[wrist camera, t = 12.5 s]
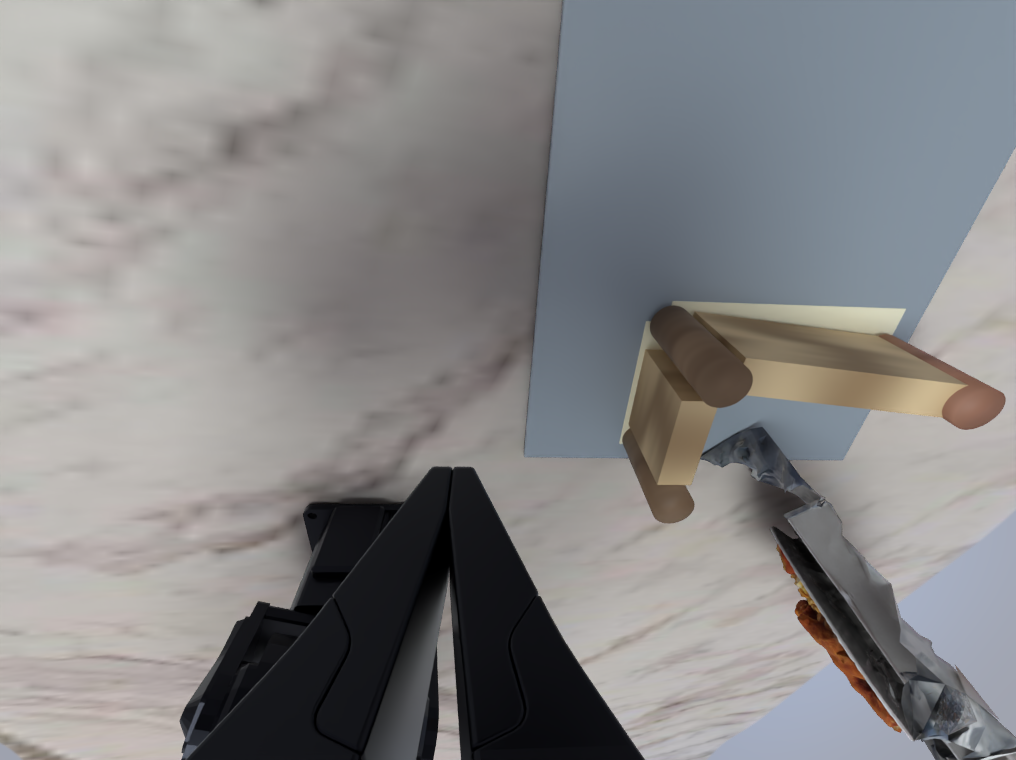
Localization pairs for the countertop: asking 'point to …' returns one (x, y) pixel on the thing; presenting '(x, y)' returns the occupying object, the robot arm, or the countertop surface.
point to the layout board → (755, 188)
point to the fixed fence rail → (666, 436)
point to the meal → (868, 621)
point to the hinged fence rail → (817, 367)
